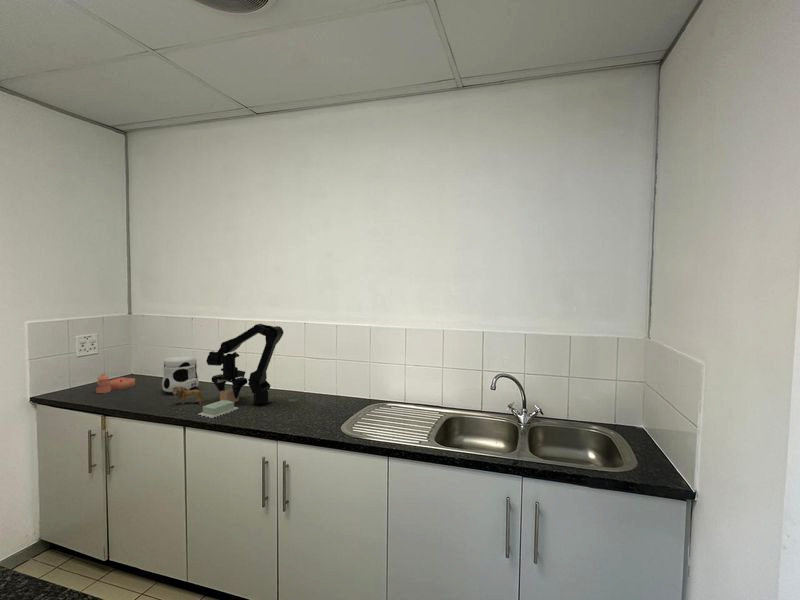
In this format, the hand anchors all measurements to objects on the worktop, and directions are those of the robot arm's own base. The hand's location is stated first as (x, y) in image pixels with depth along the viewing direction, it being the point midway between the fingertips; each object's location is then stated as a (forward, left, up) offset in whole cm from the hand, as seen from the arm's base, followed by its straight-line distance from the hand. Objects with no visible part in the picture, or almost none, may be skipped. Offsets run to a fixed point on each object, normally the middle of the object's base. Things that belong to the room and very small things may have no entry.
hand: (229, 397), depth 194 cm
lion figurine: (+16, +11, -3) cm, 19 cm away
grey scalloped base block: (-8, +13, -2) cm, 15 cm away
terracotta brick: (0, 0, -3) cm, 3 cm away
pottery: (+75, +12, -3) cm, 76 cm away
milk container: (+39, -2, -3) cm, 39 cm away
